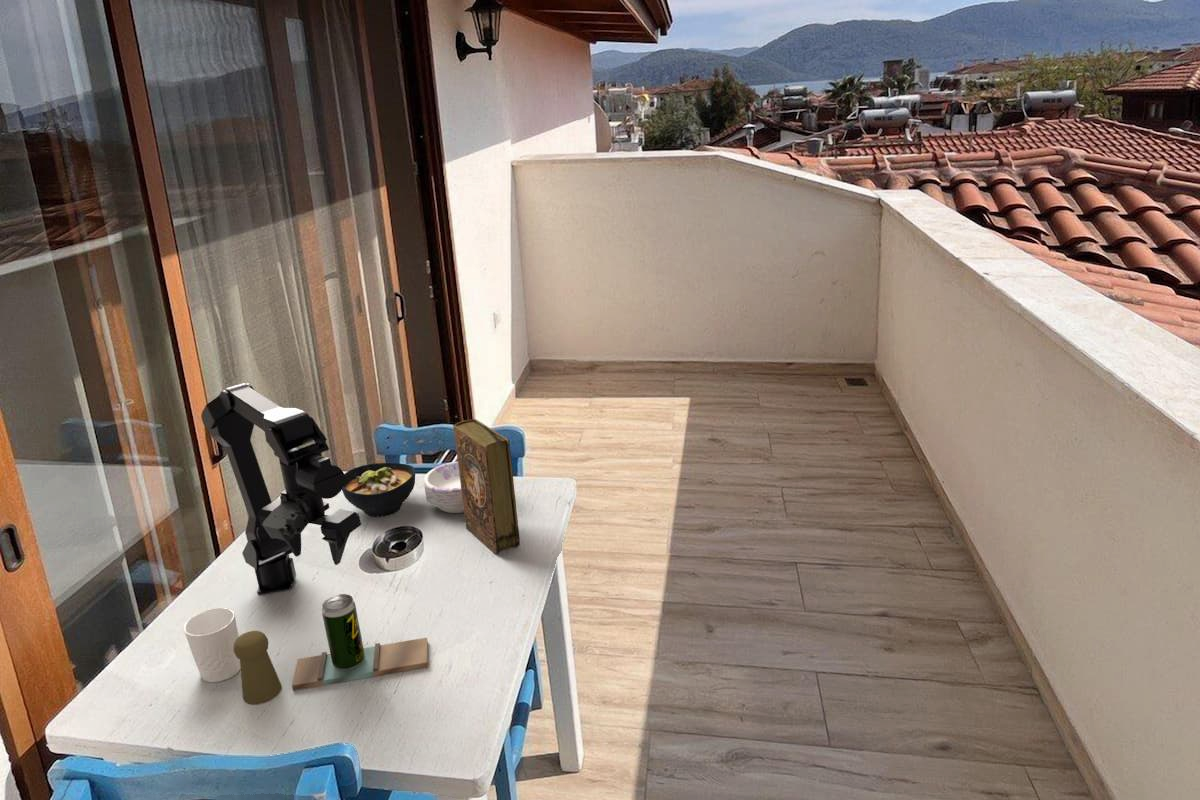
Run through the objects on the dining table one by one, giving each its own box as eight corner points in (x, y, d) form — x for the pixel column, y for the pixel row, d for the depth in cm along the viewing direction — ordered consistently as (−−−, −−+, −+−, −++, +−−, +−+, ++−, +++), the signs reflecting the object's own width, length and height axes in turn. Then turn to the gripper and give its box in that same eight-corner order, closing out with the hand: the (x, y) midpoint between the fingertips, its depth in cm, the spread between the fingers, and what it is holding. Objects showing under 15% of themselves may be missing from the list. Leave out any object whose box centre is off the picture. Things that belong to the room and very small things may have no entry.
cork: (244, 709, 131) (230, 653, 128) (241, 687, 137) (227, 632, 133) (284, 696, 134) (271, 640, 130) (279, 675, 139) (266, 621, 135)
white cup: (215, 691, 136) (202, 641, 133) (187, 676, 140) (173, 627, 137) (256, 663, 142) (244, 615, 139) (228, 650, 146) (216, 602, 143)
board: (293, 690, 135) (291, 683, 135) (298, 663, 142) (297, 656, 141) (427, 667, 139) (426, 659, 138) (427, 642, 145) (426, 635, 145)
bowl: (410, 525, 186) (404, 486, 183) (336, 528, 187) (328, 489, 183) (426, 491, 202) (421, 454, 199) (357, 494, 203) (351, 457, 199)
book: (463, 526, 184) (450, 424, 175) (485, 519, 187) (473, 417, 178) (497, 556, 171) (485, 447, 163) (520, 548, 174) (509, 440, 165)
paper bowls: (435, 525, 185) (431, 494, 183) (421, 498, 199) (417, 468, 196) (500, 510, 191) (496, 479, 188) (482, 484, 204) (478, 455, 201)
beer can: (330, 674, 137) (317, 614, 133) (335, 654, 142) (324, 595, 138) (363, 670, 138) (351, 610, 133) (367, 650, 143) (356, 591, 138)
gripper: (226, 495, 140) (245, 574, 146) (311, 510, 133) (327, 592, 138) (274, 468, 150) (290, 543, 155) (355, 481, 142) (369, 559, 148)
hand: (317, 559), depth 149 cm, fingers open, 9 cm apart
